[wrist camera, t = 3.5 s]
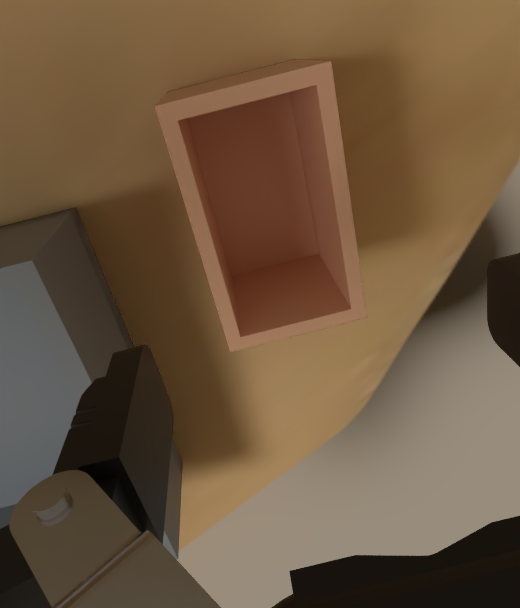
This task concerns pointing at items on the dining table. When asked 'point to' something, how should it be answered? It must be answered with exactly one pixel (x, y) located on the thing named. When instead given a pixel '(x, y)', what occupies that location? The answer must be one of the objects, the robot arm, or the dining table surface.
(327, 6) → the dining table surface
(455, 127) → the dining table surface
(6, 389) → the big crate
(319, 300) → the small crate
